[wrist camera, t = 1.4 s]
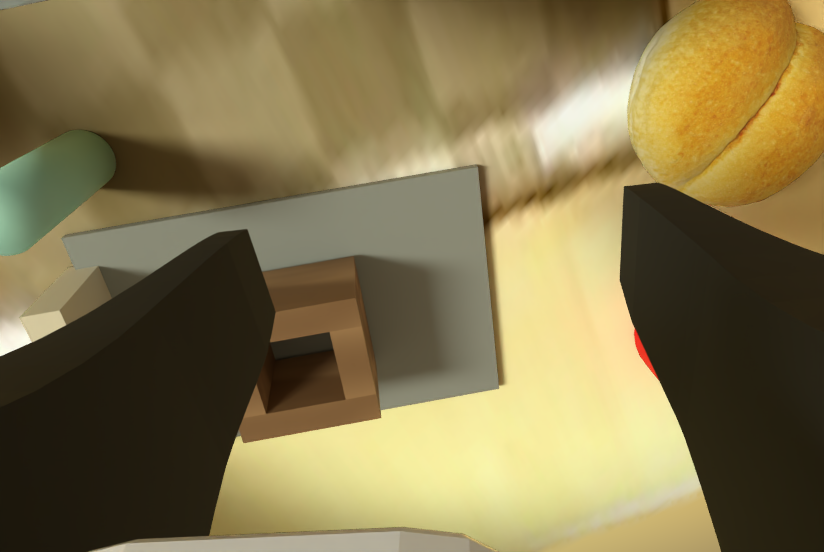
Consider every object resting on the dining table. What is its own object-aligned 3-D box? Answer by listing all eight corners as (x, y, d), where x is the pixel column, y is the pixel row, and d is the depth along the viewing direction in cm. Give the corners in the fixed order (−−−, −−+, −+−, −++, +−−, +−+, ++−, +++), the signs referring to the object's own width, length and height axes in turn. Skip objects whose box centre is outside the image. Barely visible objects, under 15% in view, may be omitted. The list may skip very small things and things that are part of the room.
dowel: (124, 182, 25) (52, 248, 19) (67, 191, 25) (-25, 261, 19) (103, 125, 24) (19, 175, 18) (43, 135, 24) (-63, 188, 18)
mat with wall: (497, 384, 32) (519, 440, 28) (147, 447, 31) (120, 514, 27) (475, 164, 26) (499, 196, 22) (53, 236, 26) (1, 282, 22)
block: (376, 365, 30) (381, 417, 26) (255, 387, 29) (243, 443, 26) (353, 255, 27) (355, 297, 23) (220, 279, 27) (202, 325, 23)
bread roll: (705, -53, 24) (771, -59, 20) (845, 71, 27) (924, 84, 23) (577, 128, 26) (614, 151, 23) (716, 223, 29) (769, 257, 26)
